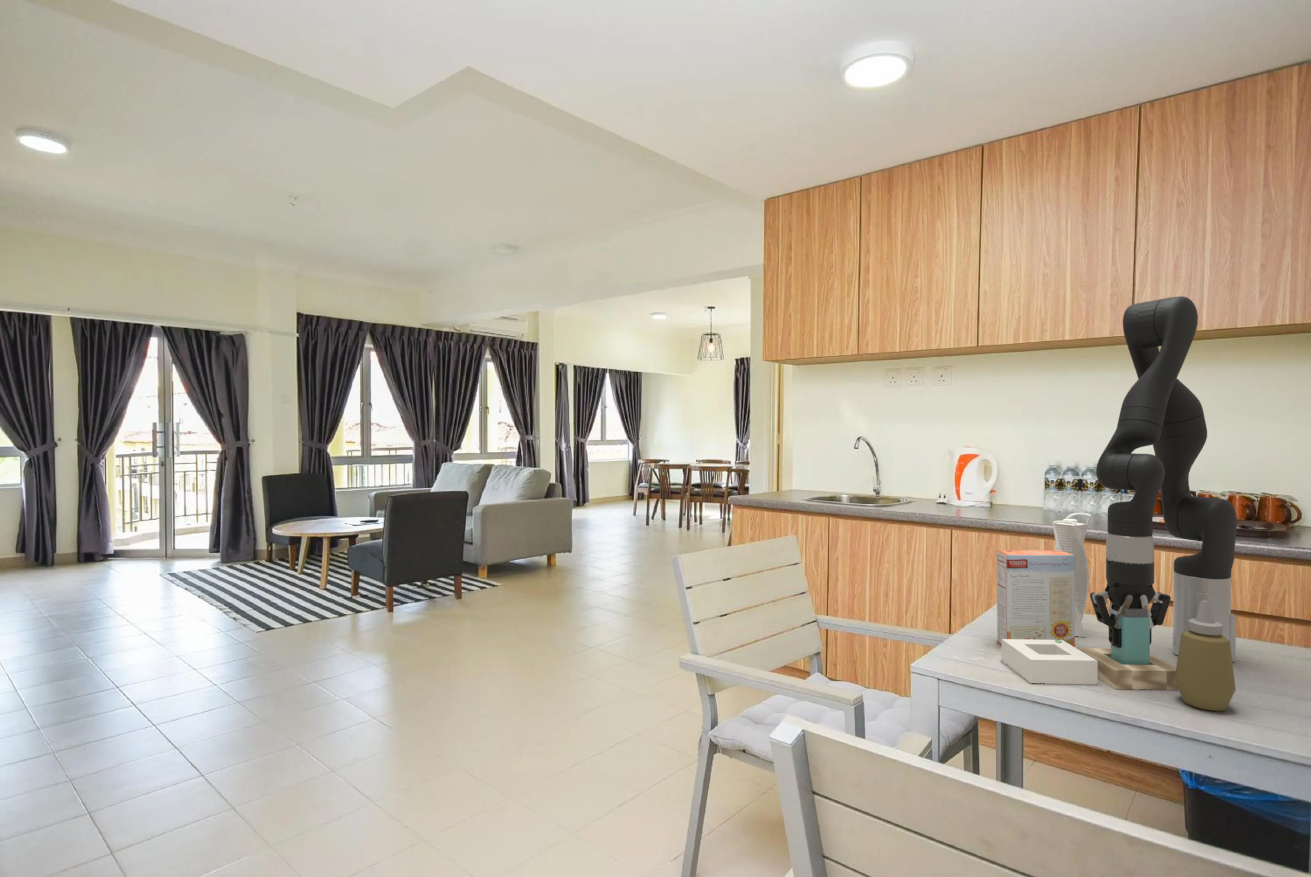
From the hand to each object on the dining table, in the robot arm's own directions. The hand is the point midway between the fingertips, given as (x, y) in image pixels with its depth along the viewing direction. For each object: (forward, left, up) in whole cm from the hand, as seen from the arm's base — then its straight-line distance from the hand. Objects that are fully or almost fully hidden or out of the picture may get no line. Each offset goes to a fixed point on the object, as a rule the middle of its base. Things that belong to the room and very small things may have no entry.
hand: (1129, 646), depth 127 cm
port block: (+14, -2, -6) cm, 16 cm away
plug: (0, 0, -4) cm, 4 cm away
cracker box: (+9, -17, -6) cm, 20 cm away
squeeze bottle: (-5, +12, -6) cm, 15 cm away
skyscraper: (-4, -27, -6) cm, 28 cm away
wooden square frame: (0, 0, -6) cm, 6 cm away
